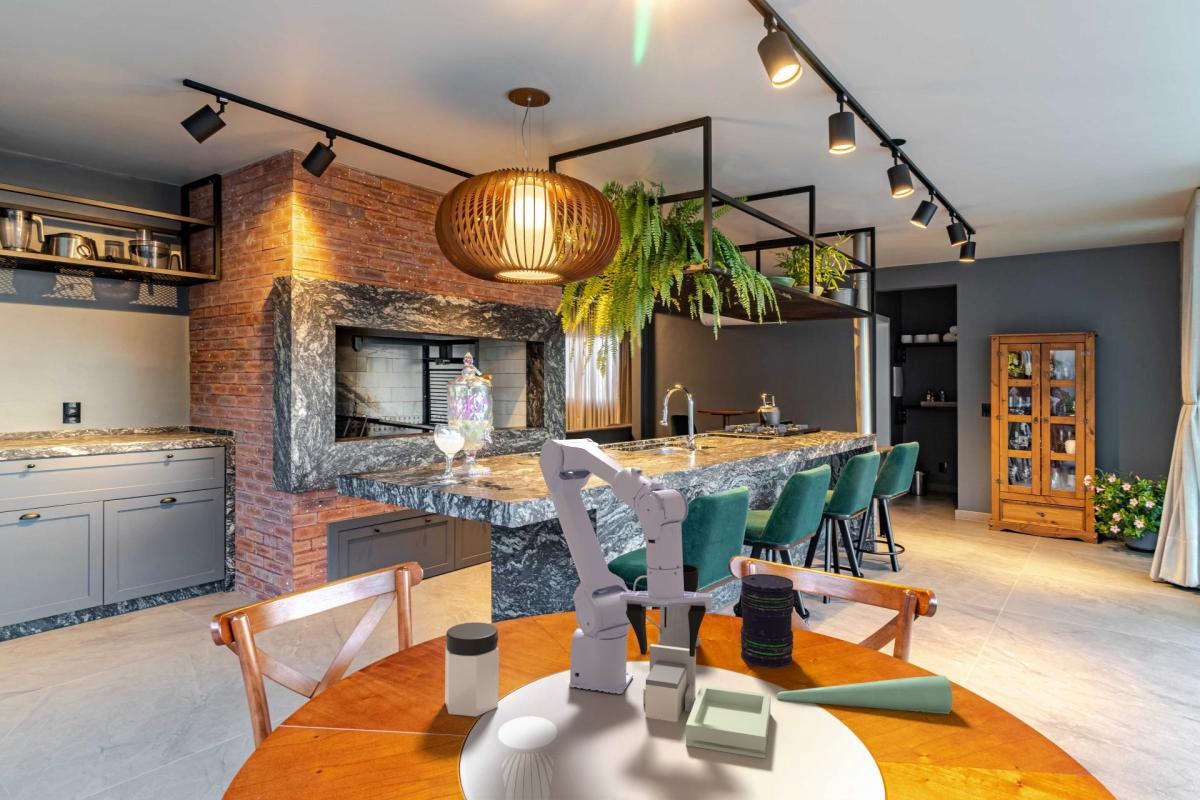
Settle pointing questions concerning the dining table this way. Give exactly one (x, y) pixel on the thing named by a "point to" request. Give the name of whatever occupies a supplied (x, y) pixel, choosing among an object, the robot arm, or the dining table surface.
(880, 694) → the long green cone
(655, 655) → the dock
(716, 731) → the tray
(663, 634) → the glass holder
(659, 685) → the tall grey beige-topped block
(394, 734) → the dining table surface
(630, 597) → the robot arm
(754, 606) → the storage jar
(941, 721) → the dining table surface
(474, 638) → the jar
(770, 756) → the dining table surface
